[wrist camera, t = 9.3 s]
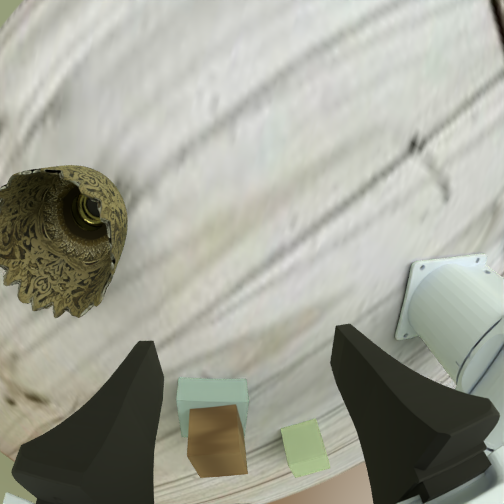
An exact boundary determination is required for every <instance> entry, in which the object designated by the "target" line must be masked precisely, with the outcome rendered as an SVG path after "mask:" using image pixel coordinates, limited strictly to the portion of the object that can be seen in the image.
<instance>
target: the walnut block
mask: <svg viewBox="0 0 504 504" xmlns="http://www.w3.org/2000/svg"><path fill="white" fill-rule="evenodd" d="M187 457H188V459H189V460H190V462H191V463H192V465H193V467H194V468H195V470H196V471H197V473H198V475H199V476H200V478H205V477H220V476H232V475H242V474H248V471H247V461H246V452H245V442H244V432H243V427H242V423H241V420H240V416H239V413H238V409H237V405H236V404H233V405H225V406H216V407H206V408H195V409H190V412H189V429H188V448H187Z"/></svg>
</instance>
